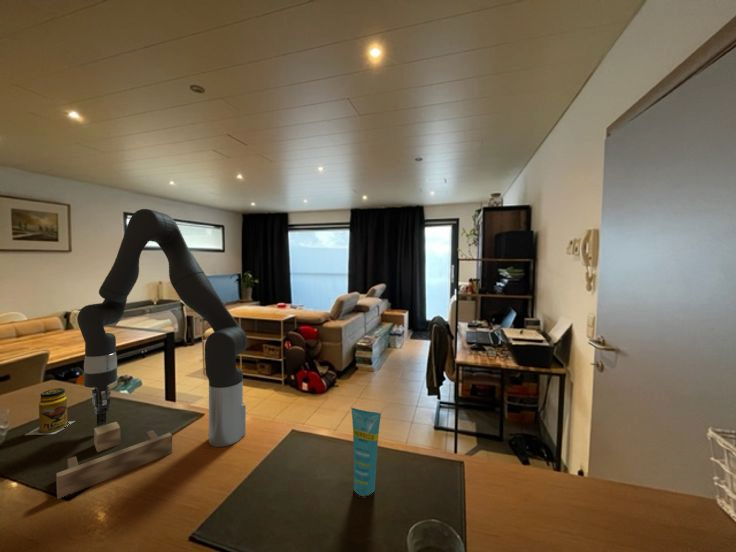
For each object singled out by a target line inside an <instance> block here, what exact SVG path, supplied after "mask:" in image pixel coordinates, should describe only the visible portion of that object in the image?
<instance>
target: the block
mask: <svg viewBox="0 0 736 552" xmlns="http://www.w3.org/2000/svg"><path fill="white" fill-rule="evenodd" d="M93 429H94V430H93V438H94V439H93V442H94V447H95V448H94V449H95V450H96V452H97V453H100V452H102V451H105V450H109V449H111V448H114V447H117V446H121V444H122V443H121V427H120V424H119V423H118V421H115V422H111V423H107V424H102V425H101V426H100V425H99V426H98V427H94V428H93Z"/></svg>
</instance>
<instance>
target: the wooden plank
mask: <svg viewBox="0 0 736 552" xmlns="http://www.w3.org/2000/svg"><path fill="white" fill-rule="evenodd" d="M170 454H173V434H172V433H171V432H166V433H164V434H161V435H159V436H158V434H157V433H156V432H155V431H154V430H153V429H152V430H149V431H146V440H145V441H142V442H138V443H137V444H134V445H131V446H128V447H126V448H122V449H119V450H117V451H114V452H112V453H109V454H106V455H103V456H100V457H98V458H95V459H93V460H89V461H87V462H84V463H82V464H79V462H78V459H77V456H73V457H70V458H67V469H64V470H62V471H59V472H56V498H57V500H60V499H62V497H63V498H65V497H67V496H69V495H68V494H70V495H73V494H75V493H77V492H80V491H82V490H84V489H87V488H90V487H92V486H95V485H96V484H98V483H99V484H100V483H103V482H104V481H107V480H109V479H111V478H114V477H116V476H119V475H120V474H121V475H122V474H124V473H127V472H129V471H132V470H133V469H134V470H135V469H136V468H139V467H140V466H141V467H142V466H144V465H147V464H149V463H150V462H153V461H156V460H158V459H160V458H163V457H166V456H168V455H170ZM74 492H75V493H74ZM66 495H67V496H66ZM64 496H65V497H64Z"/></svg>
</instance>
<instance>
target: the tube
mask: <svg viewBox="0 0 736 552" xmlns="http://www.w3.org/2000/svg"><path fill="white" fill-rule="evenodd" d="M381 414H382V413H381V412H378V411H369V410H364V409H359V408H356V407H351V420H352V421H351V422H352V438H353V439H352V440H353V490H354V491H355V492H356V493H357V494H359V495H361V496H365V495H369V494H371V493H373V492H374V493H375V489H376V473H377V456H378V443H379V441H378V440H379V433H380V425H381V424H380V423H381V418H382V416H381ZM354 491H353V492H354ZM355 492H354V493H355ZM356 493H355V494H356ZM374 493H373V494H374ZM357 494H356V495H357Z"/></svg>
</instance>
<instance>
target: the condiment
mask: <svg viewBox="0 0 736 552" xmlns="http://www.w3.org/2000/svg"><path fill="white" fill-rule="evenodd" d="M65 391H66V390H65V388H62V387H58V388H52V389H48V390H44V391H43V392H42V393H40V400H39V403H38V416H39V417H38V418H39V419H38V424H39V425H38V426H39V427H36V428H34V429H33V430H31V431H29V432H27V433H26V434H24V436H32V435H33V436H35V435H38V436H39V435H41V436H42V435H43V436H44V435H55V434H57V433H59V432H61V431H63V430H65V428H64V427H66V426H67V427H69V426H70V425H72V424H73V423H75V422H76V420H72V421H68V398H67V396H66V392H65ZM67 422H68V423H69V424H70V425H69V424H68V425H69V426H68V425H67ZM67 427H66V428H67Z"/></svg>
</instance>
